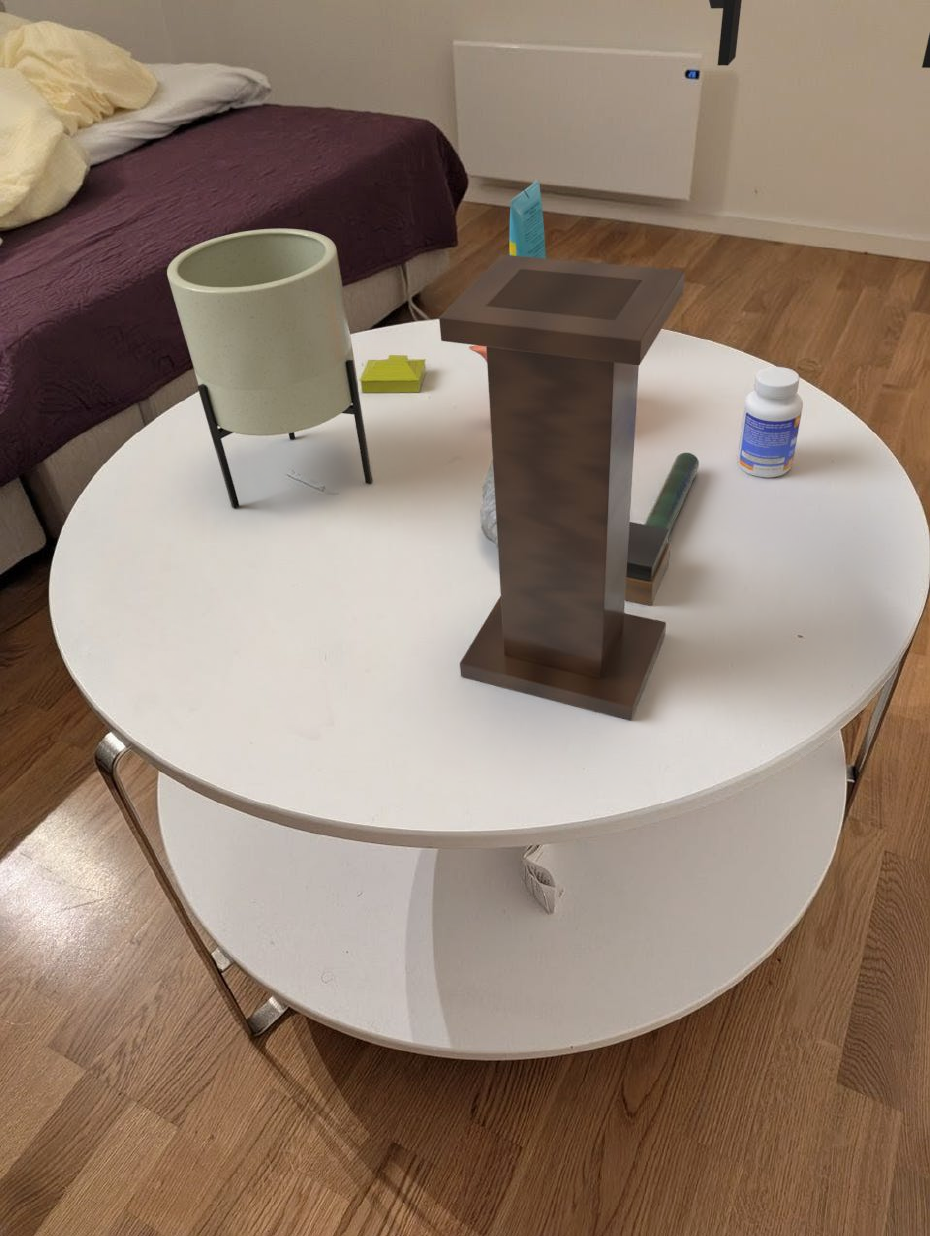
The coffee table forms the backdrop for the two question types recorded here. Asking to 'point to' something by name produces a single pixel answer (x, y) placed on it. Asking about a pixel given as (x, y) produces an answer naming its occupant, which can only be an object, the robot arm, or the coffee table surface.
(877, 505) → the coffee table surface
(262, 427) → the planter
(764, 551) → the coffee table surface
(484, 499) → the seashell
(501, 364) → the stand
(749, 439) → the pill bottle
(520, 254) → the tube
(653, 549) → the brush
